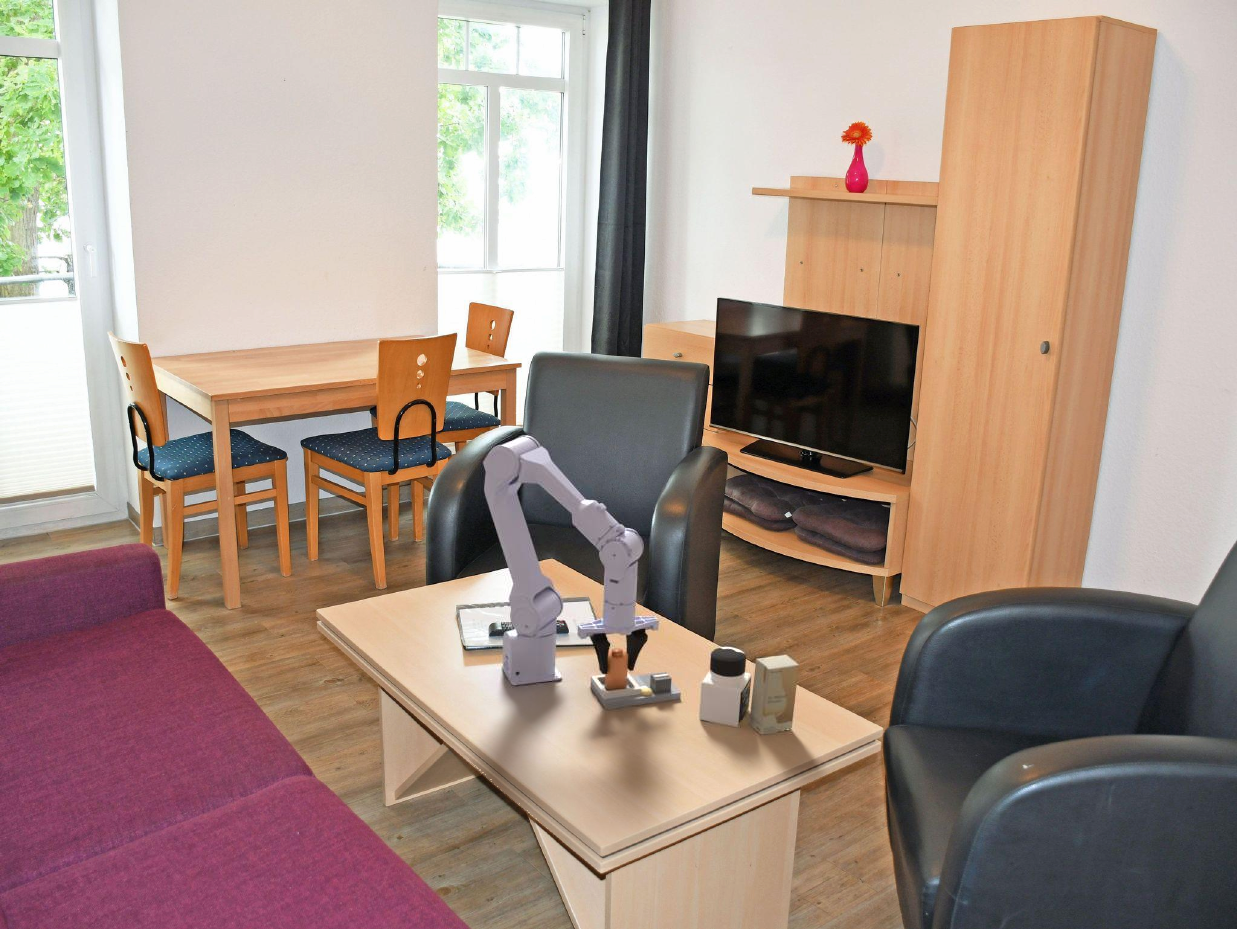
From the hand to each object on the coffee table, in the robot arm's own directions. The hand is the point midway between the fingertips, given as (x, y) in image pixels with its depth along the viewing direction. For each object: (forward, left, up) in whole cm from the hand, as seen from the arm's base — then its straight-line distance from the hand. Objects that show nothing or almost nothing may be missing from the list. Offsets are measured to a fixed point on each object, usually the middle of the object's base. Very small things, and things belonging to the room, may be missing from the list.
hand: (616, 670), depth 193 cm
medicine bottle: (+16, -13, -5) cm, 20 cm away
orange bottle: (0, 0, -3) cm, 3 cm away
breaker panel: (+4, -1, -5) cm, 6 cm away
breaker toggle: (+7, -3, -3) cm, 9 cm away
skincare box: (+22, -19, -5) cm, 29 cm away
